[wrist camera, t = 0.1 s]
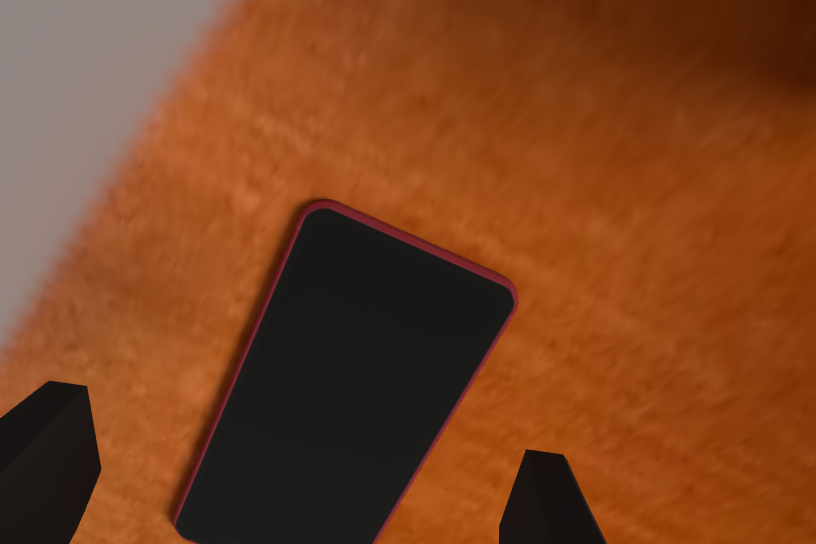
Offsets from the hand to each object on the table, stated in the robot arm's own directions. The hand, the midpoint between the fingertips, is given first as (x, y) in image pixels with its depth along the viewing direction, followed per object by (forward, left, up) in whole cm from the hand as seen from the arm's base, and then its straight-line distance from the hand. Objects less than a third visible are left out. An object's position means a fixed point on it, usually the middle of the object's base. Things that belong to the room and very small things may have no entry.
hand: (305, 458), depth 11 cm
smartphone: (-6, -4, -11) cm, 13 cm away
